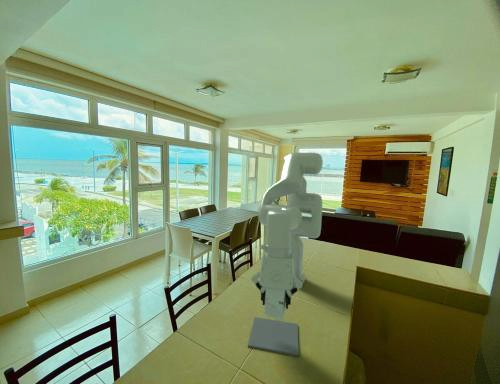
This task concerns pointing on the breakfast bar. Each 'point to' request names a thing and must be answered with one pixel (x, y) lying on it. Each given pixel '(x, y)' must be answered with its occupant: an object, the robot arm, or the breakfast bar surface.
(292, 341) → the mat
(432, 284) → the breakfast bar surface
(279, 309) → the skincare box
